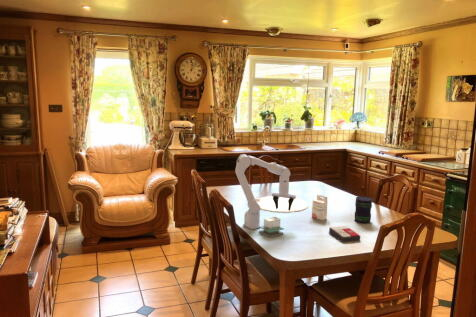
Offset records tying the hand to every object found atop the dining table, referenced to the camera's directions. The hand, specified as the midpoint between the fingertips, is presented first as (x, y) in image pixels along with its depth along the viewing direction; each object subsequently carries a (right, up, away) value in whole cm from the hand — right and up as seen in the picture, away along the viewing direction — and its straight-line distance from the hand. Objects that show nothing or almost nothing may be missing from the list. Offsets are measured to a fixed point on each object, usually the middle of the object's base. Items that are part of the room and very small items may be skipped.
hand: (283, 209), depth 232 cm
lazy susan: (+3, -3, +48) cm, 48 cm away
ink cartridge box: (+25, -8, +17) cm, 32 cm away
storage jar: (+52, -10, +12) cm, 54 cm away
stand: (-8, -12, -11) cm, 19 cm away
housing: (-8, -9, -12) cm, 17 cm away
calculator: (+33, -14, -15) cm, 38 cm away
